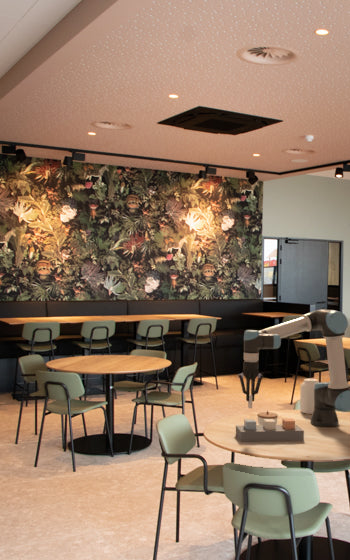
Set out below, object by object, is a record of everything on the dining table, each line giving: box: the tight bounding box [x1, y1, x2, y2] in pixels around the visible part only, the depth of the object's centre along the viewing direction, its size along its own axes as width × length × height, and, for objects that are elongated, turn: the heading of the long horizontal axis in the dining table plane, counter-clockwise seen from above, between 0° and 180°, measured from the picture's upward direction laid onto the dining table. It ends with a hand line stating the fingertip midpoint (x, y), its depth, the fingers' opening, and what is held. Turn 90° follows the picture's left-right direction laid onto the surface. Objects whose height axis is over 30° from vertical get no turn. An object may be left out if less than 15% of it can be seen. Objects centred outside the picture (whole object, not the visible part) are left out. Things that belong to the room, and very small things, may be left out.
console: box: [235, 424, 305, 443], centre depth 296 cm, size 32×12×5 cm, turn 97°
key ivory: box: [263, 419, 277, 430], centre depth 296 cm, size 5×5×5 cm
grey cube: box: [243, 418, 257, 430], centre depth 295 cm, size 5×5×5 cm
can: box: [299, 377, 319, 415], centre depth 354 cm, size 12×12×20 cm
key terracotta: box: [281, 418, 296, 429], centre depth 297 cm, size 5×5×5 cm
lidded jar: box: [257, 410, 279, 425], centre depth 314 cm, size 11×11×9 cm
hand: (250, 407), depth 295 cm, fingers closed
